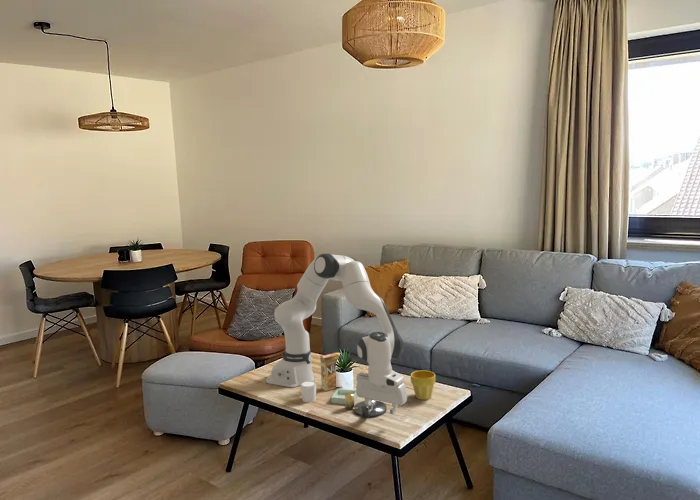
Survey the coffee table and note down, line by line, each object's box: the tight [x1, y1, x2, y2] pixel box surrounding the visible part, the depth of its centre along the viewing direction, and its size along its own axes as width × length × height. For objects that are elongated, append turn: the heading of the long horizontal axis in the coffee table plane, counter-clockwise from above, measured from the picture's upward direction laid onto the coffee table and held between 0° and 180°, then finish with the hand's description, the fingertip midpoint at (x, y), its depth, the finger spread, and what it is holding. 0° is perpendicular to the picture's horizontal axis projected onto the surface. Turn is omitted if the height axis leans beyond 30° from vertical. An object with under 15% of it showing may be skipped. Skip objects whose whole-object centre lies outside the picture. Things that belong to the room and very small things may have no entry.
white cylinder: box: [299, 381, 317, 403], centre depth 223 cm, size 7×7×7 cm
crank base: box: [353, 400, 388, 418], centre depth 211 cm, size 13×13×1 cm
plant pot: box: [410, 369, 436, 401], centre depth 221 cm, size 10×10×10 cm
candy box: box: [320, 351, 341, 392], centre depth 234 cm, size 9×4×15 cm, turn 120°
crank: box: [361, 399, 377, 419], centre depth 206 cm, size 12×4×4 cm, turn 166°
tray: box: [330, 388, 358, 405], centre depth 222 cm, size 9×9×2 cm
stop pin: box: [344, 392, 355, 411], centre depth 213 cm, size 4×4×6 cm
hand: (381, 411), depth 198 cm, fingers open, 8 cm apart
